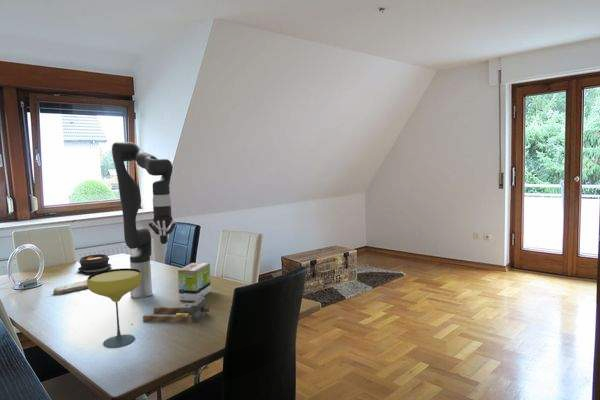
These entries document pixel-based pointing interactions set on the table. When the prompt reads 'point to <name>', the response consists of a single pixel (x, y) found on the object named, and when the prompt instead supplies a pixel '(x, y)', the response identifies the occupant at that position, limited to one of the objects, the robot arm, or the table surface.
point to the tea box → (194, 281)
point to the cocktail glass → (115, 295)
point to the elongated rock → (71, 288)
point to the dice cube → (186, 308)
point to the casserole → (94, 263)
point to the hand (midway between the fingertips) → (164, 243)
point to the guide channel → (196, 313)
